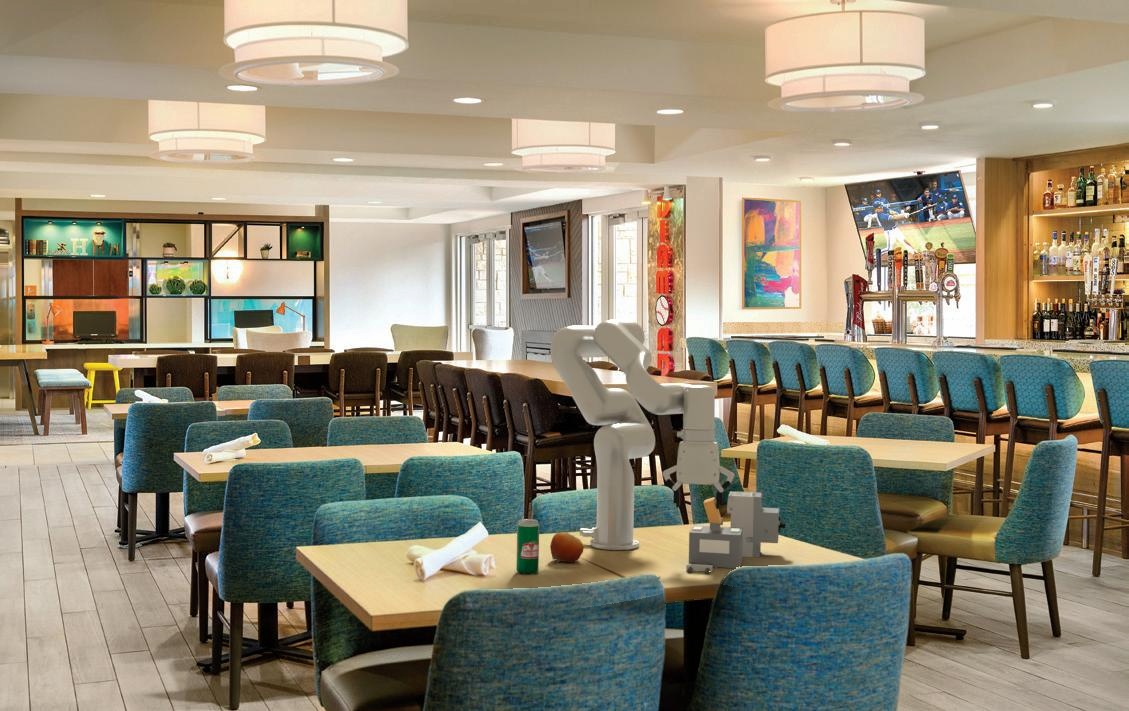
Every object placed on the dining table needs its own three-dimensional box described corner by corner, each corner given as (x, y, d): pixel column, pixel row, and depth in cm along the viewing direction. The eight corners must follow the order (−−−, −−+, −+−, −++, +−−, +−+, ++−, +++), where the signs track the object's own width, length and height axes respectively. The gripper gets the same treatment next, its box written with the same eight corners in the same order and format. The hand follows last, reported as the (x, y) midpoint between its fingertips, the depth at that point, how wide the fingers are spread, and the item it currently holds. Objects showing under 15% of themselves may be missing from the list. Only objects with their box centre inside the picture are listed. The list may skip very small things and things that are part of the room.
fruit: (537, 553, 283) (553, 524, 284) (563, 568, 285) (579, 539, 287) (550, 560, 275) (567, 530, 277) (576, 575, 278) (592, 545, 279)
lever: (711, 530, 279) (703, 503, 279) (713, 526, 285) (705, 499, 285) (721, 527, 278) (712, 500, 279) (723, 523, 284) (714, 496, 284)
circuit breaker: (784, 558, 289) (785, 498, 288) (726, 555, 291) (727, 495, 291) (784, 552, 296) (786, 493, 295) (728, 549, 299) (729, 491, 298)
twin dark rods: (684, 572, 270) (685, 566, 270) (688, 565, 278) (688, 560, 278) (711, 574, 269) (711, 568, 269) (713, 567, 277) (714, 561, 277)
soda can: (521, 575, 265) (521, 522, 264) (513, 571, 269) (513, 519, 269) (541, 574, 267) (542, 521, 266) (533, 569, 271) (534, 518, 271)
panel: (688, 566, 278) (689, 522, 278) (692, 557, 288) (693, 515, 288) (739, 569, 276) (740, 525, 275) (742, 560, 286) (743, 518, 285)
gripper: (661, 437, 280) (660, 508, 280) (734, 438, 277) (733, 511, 277) (664, 434, 287) (663, 503, 288) (735, 436, 284) (735, 506, 284)
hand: (698, 507), depth 282 cm, fingers open, 9 cm apart
